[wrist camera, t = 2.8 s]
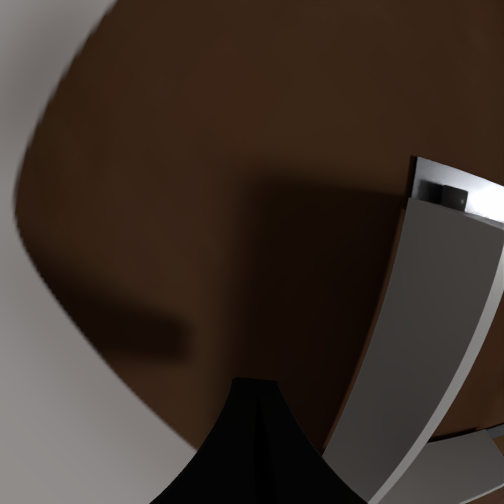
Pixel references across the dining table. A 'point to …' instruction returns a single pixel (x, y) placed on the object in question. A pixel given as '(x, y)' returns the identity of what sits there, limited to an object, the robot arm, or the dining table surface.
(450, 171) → the track
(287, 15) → the dining table surface
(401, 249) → the white open box
